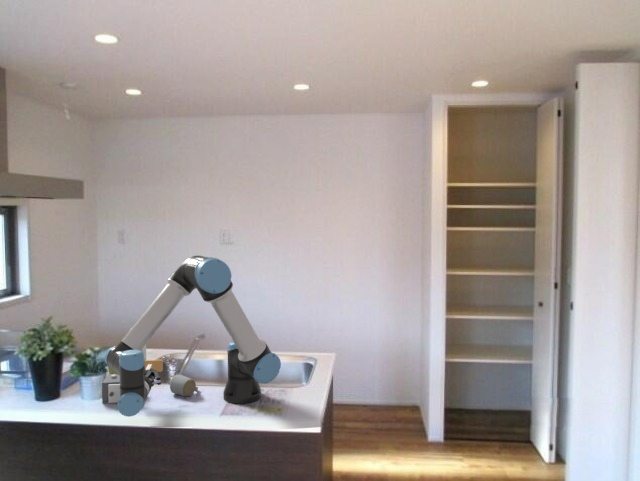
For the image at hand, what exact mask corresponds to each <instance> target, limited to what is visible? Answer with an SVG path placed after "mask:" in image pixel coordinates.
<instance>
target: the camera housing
mask: <svg viewBox="0 0 640 481" xmlns="http://www.w3.org/2000/svg"><path fill="white" fill-rule="evenodd" d="M109 384H120V376H119V375H118V374H109V373H108V374H107V375H106V377H105V378H104V379H103V381H102V382H101V395H102V396H101V397H102V398H101V399H102V400H101V401H102V404H106V403H109V400H108V385H109ZM109 404H110V403H109Z"/></svg>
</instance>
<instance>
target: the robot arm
mask: <svg viewBox="0 0 640 481" xmlns="http://www.w3.org/2000/svg"><path fill="white" fill-rule="evenodd" d="M233 287H234V284H233V282H232V271H231V268H230V267H229V265H228V264H227V263H226V262H225V261H223V260H221V259H219V258H217V257H208V256H203V255H192V256H190V257H188V258H186V259H185V260H184V261H182V262H181V263H180V265H179V266H178V267H177V268H175V270H174V271H173V272H172V273H171V275H170V276H169V277H168V278H167V284H166V285H165V287H164V288H163V289H162V290H161V292H159V294H158V295H157V296H156V297H155V299H154V300H153V301H152V303H150V305H149V306H148V307H147V308H146V310H145V311H144V312H143V313H142V315H141V316H140V317H139V319H138V320H136V322H135V323H134V325H133V326H132V327H131V328H129V331H128V332H127V333H126V334H125V335H124V337H122V339H121V340H120V342H119V343H118V344H117V345H115V346H112V347H110V348H109V349H107V351H106V352H105V353H104V354H105V355H104V362H105V365H107V368H108V367H109V368H110V369H111V370H113V371H115V372H116V373H117V374H118V375H119V376H120V398H119V400H118V402H117V404H116V406H117V410H118V412H119V413H120V414H121V415H122V416H124V417H134V416H136V415H137V414H139V413H140V412H141V410H142V409H143V407H144V406H145V402H146V400H147V398H148V397H149V394H150V393H151V392H150V391H151V390H152V387H153V386H154V385H158V386H160V385H162V377H161V376H159V372H157V370H154V369H153V368H152V364H148V366H147V367H146V369H145V360H144V353H143V352H142V351H141V350H142V349H143V348H144V346H145V345H146V346H147V344H148V343H149V341H151V339H152V338H153V336H154V335H155V334H156V332H158V330H159V329H160V328H161V327H162V325H163V324H164V322H166V320H167V319H168V318H169V317H170V316H171V314H172V313H173V312H174V310H175V309H176V308H177V306H178V305H179V304H180V303H181V301H182V300H183V299H184V298H185V297H186V296H190V295H191V294H192V292H193V291H194V290H195V289H196V290H197V291H198V293H199V295H200V296H201V298H202V299H203V301H204V302H206V303H210V304H211V307H212V308H213V310H214V311H215V313H216V315H217V316H218V318H219V320H220V322H221V323H222V324H223V327H224V328H225V330H226V332H227V334H228V336H230V339H231V340H232V341H230V342H228V345H227V351H226V352H227V381H226V384H225V387H224V389H223V400H224V401H226V402H228V403H231V404H238V405H239V404H248V403H253V402H257V401H258V400H260V399H261V398H262V389H261V385H260V384H269V383H271V382H273V381H274V380H275V379H276V378H277V377H278V376H279V373H280V369H281V368H282V366H281V365H282V363H281V359H280V357H279V356H278V355H277V354H276V353H274V352H272V350H270V347H269V345H268V344H267V342H266V340H264V339H260V338H259V336H258V335H257V333H256V331H255V330H254V327H253V326H252V324H251V322H250V321H249V318H248V317H247V315H246V313H245V312H244V309H243V308H242V306H241V305H240V303H239V301H238V299H237V297H236V295H235V293H234V292H233Z"/></svg>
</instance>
